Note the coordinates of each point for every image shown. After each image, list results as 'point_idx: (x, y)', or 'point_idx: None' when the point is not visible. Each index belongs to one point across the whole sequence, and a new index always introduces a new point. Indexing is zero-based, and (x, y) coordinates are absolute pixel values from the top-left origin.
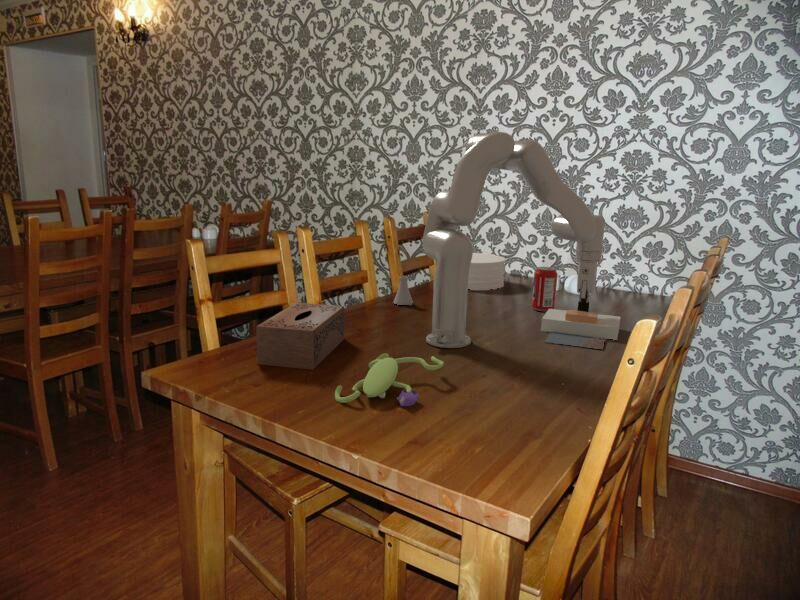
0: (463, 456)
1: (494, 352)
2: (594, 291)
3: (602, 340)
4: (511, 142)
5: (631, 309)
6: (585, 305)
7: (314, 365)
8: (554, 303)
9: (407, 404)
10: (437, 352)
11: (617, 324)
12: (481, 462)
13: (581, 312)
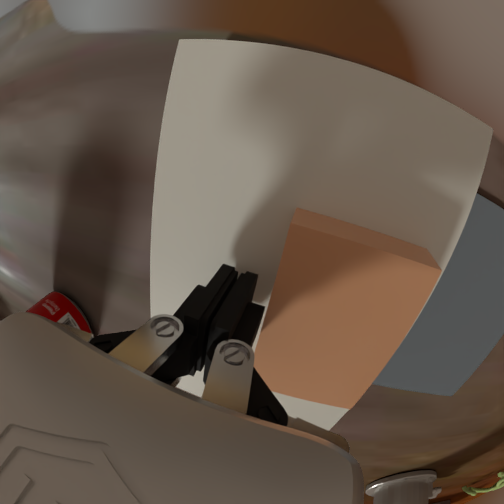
0: None
1: (471, 444)
2: (157, 391)
3: (475, 208)
4: None
5: (2, 67)
6: (252, 341)
7: (447, 502)
8: (53, 306)
9: None
10: (442, 478)
11: (422, 99)
12: None
13: (307, 340)
